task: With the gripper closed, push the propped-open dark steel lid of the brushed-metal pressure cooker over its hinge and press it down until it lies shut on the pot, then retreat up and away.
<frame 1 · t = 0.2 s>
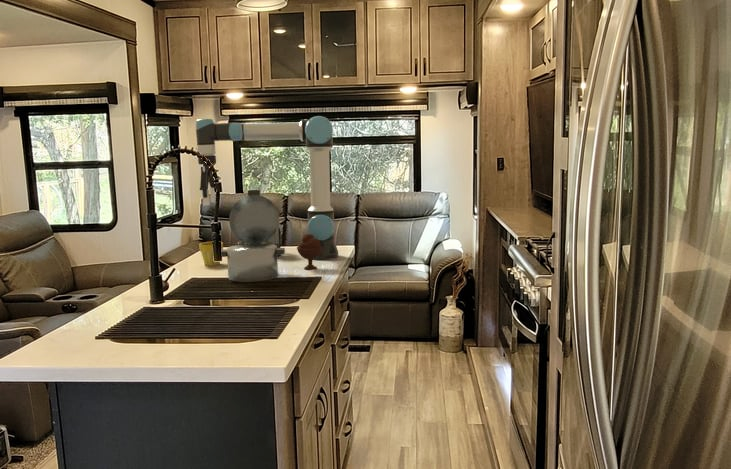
hand: (210, 203, 270), 28 cm above the countertop, fingers open, 13 cm apart
plant pot: (212, 264, 279), on the countertop
cooker pot: (253, 276, 251), on the countertop
cooker lid: (254, 218, 262), point 22 cm above the countertop, hinge at 105.0°
ice cream bowl: (310, 269, 263), on the countertop
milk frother: (265, 255, 299), on the countertop
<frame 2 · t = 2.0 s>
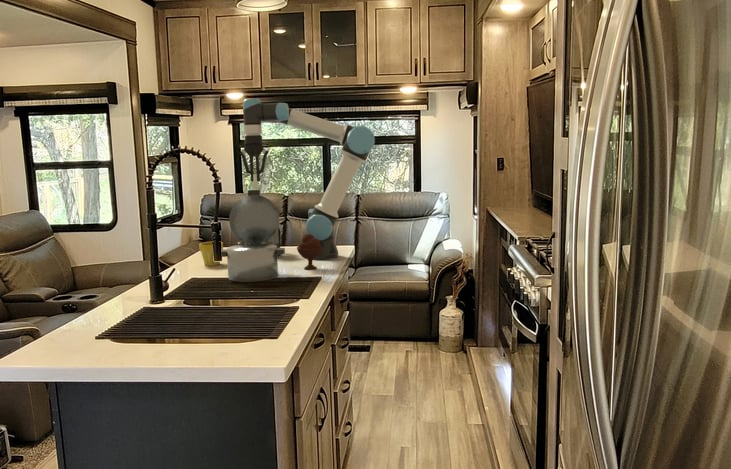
hand: (255, 188, 272), 34 cm above the countertop, fingers closed
nothing on the countertop moved.
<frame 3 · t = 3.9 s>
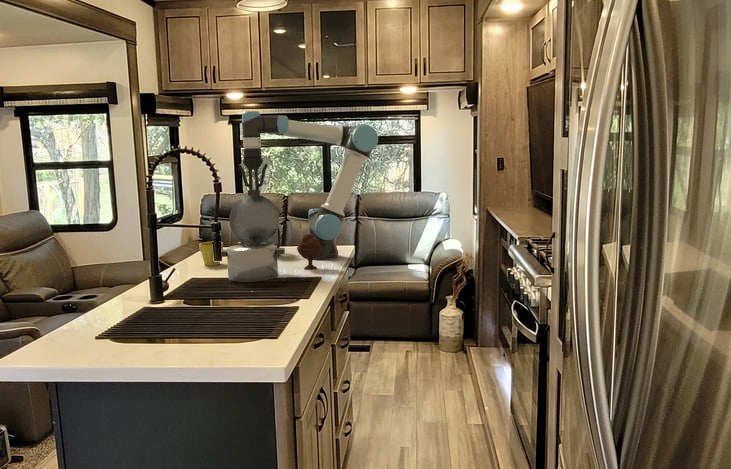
hand: (254, 202, 266), 28 cm above the countertop, fingers closed
cooker lid: (254, 218, 262), point 22 cm above the countertop, hinge at 104.2°, touching gripper
everything else where it was.
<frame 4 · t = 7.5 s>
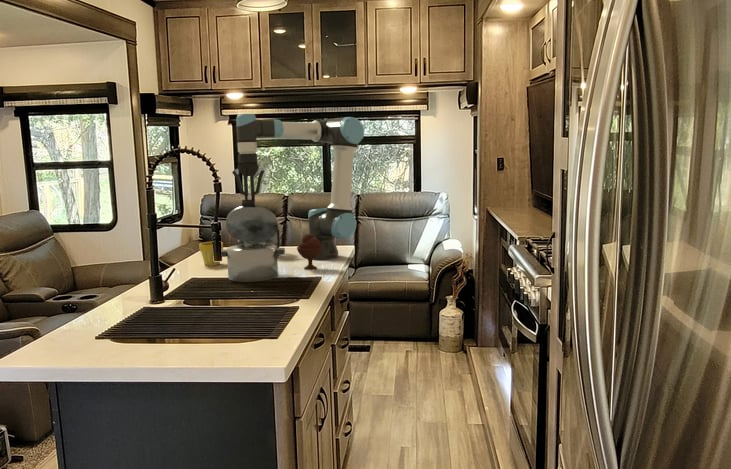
hand: (250, 211, 250), 26 cm above the countertop, fingers closed
cooker lid: (252, 221, 252), point 22 cm above the countertop, hinge at 51.3°, touching gripper
everything else where it was.
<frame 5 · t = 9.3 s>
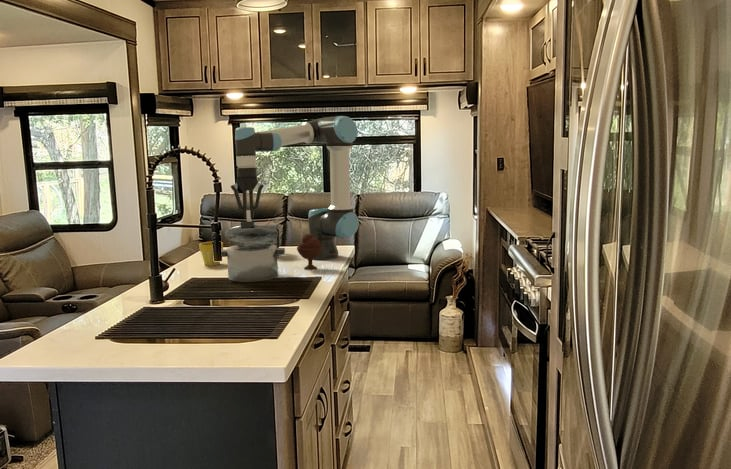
hand: (249, 226, 244), 21 cm above the countertop, fingers closed
cooker lid: (251, 231, 249), point 18 cm above the countertop, hinge at 23.9°, touching gripper
everything else where it was.
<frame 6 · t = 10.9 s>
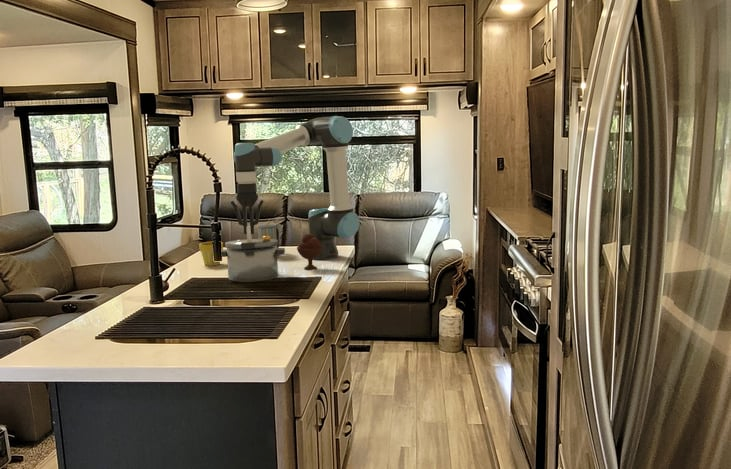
hand: (249, 242, 243), 15 cm above the countertop, fingers closed
cooker lid: (251, 241, 248), point 15 cm above the countertop, hinge at 2.9°, touching gripper
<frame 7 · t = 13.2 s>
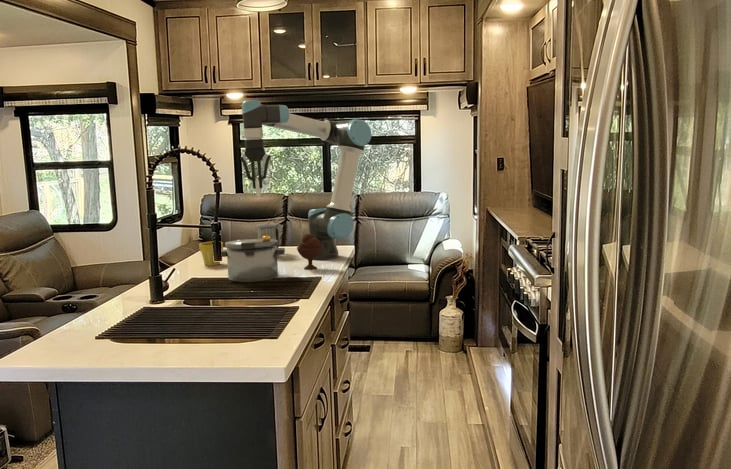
hand: (258, 196, 255), 32 cm above the countertop, fingers closed
cooker lid: (251, 241, 248), point 15 cm above the countertop, hinge at 2.9°
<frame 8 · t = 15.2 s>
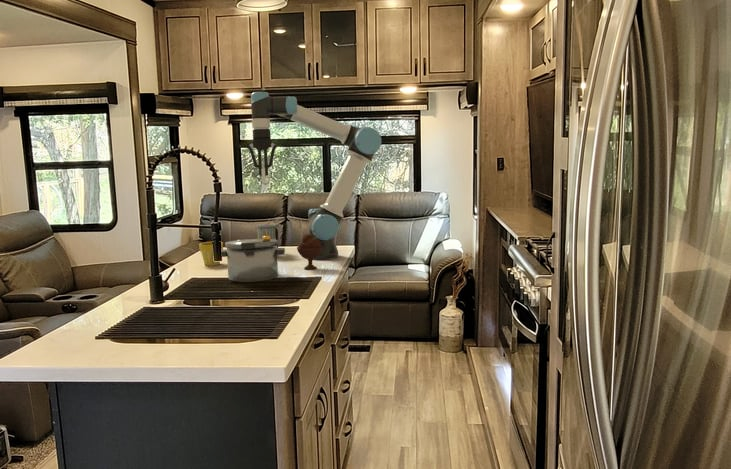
hand: (264, 183, 268), 36 cm above the countertop, fingers closed
at the end: cooker lid at +3° (first picture: +105°); plant pot moved 0.2 cm from its start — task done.
